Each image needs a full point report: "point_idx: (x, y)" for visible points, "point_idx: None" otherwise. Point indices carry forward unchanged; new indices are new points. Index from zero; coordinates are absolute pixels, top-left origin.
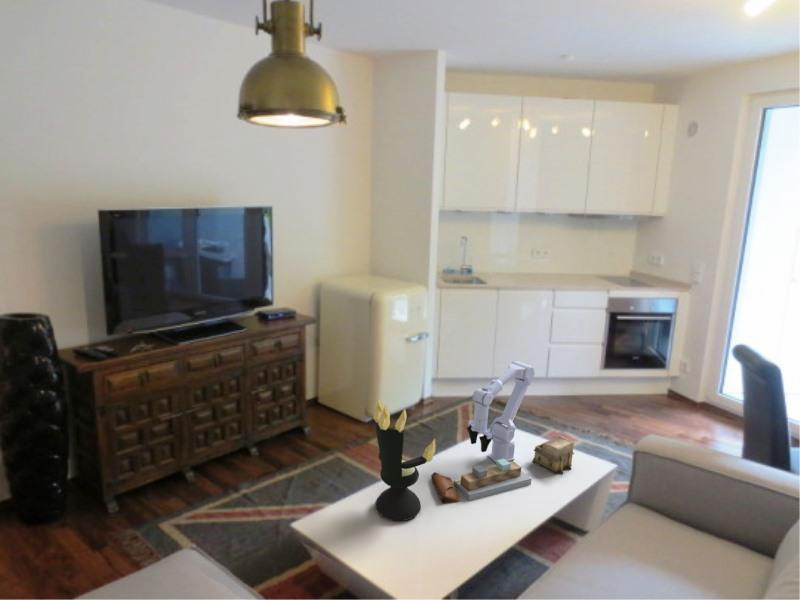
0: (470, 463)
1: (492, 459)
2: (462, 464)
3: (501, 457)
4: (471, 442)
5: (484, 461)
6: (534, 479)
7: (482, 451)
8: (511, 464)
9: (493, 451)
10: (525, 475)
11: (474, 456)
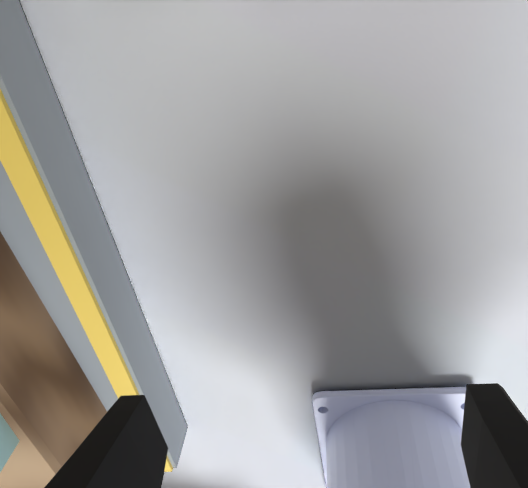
0: (413, 194)
1: (385, 390)
2: (433, 93)
3: (331, 456)
4: (483, 408)
5: (392, 326)
6: None
7: (109, 409)
8: (16, 483)
9: (402, 463)
10: None
11: (523, 291)
